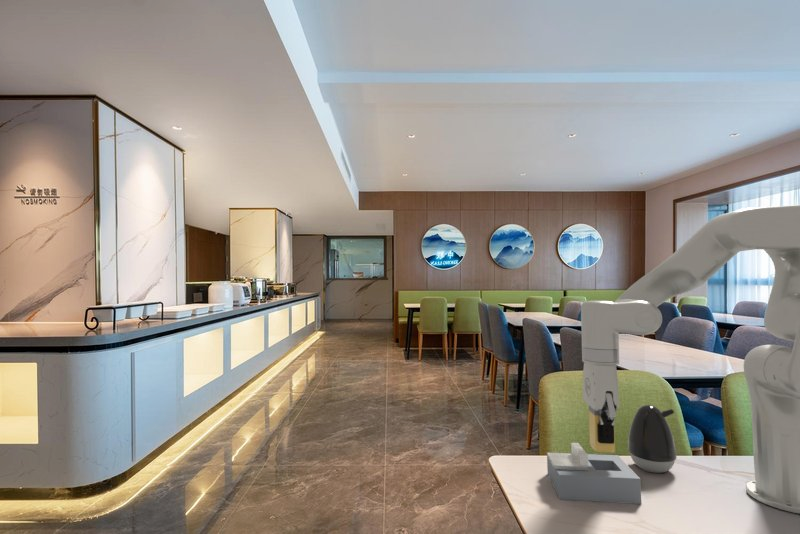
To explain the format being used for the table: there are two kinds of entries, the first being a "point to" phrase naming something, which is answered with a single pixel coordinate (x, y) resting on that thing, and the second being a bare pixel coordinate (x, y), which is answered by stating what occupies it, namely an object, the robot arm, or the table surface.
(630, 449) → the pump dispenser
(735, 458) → the table surface
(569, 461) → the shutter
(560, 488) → the socket board
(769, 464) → the robot arm
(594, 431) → the plug
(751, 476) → the table surface
